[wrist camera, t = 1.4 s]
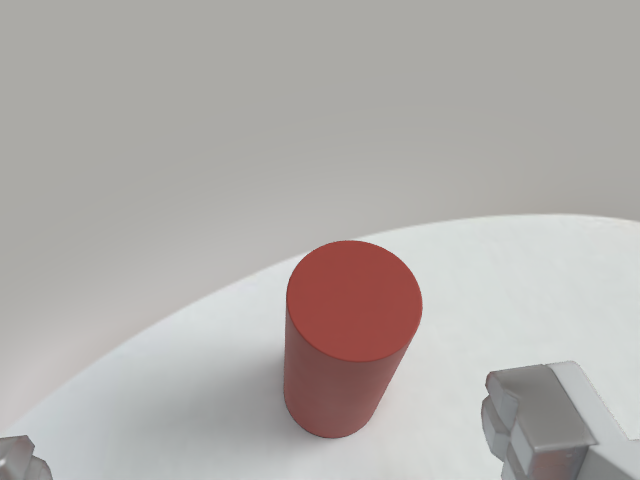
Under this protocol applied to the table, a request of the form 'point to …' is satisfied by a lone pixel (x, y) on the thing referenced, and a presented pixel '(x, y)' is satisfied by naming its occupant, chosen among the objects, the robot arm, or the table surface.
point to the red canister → (346, 334)
